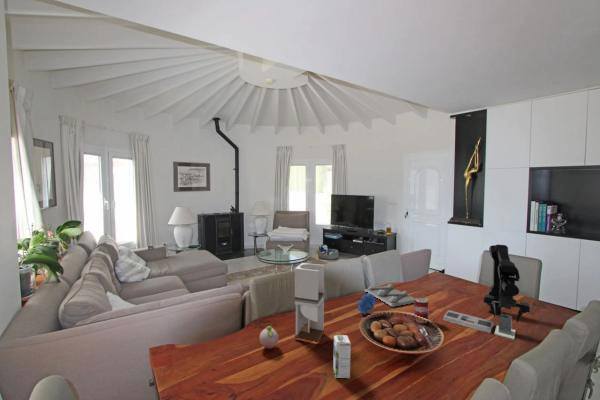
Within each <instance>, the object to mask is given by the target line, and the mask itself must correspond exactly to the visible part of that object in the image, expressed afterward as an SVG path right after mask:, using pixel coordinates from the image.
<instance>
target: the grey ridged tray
mask: <svg viewBox="0 0 600 400" xmlns="http://www.w3.org/2000/svg"><path fill="white" fill-rule="evenodd" d="M363 291H364V292H365V293H366V292H368V293H370V294H372V295H374V296H375V297H376V298H375V299H377V298H378V299H377V300H379V299H380V300H381V301H380V300H379V301H380V302H382V301H383V302H382V303H384V302H385V303H386V304H385V303H384V304H385V305H387V304H388V305H387V306H389V307H391V308H396V306H398V307H402V306H401V305H403V306H407V305H406V304H408V305H412V304H411V303H413V304H414V300H415V299H416V297H413V296H411V295H409V294H408V291H407V290H403V291H400V290H398V289H396V288H395V287H394V284H392V283H388V284H387V285H381V286H377V287H373V286H371V285H370V286H368V288H365V289H364V290H363ZM368 293H367V294H368Z"/></svg>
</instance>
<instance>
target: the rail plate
mask: <svg viewBox="0 0 600 400" xmlns="http://www.w3.org/2000/svg"><path fill="white" fill-rule="evenodd" d="M442 318H443V320H442V321H445V322H448V323H452V324H455V325H459V326H463V327H467V328H469V329H470V328H471V329H474V330H477V331H481V332H485V333H487V334H491V333H492V330H493V328H494V321H492V320H490V319H489V320H488V319H486V318H481V317H478V316H472V315H469V314H466V313H461V312H458V311H453V310H449V309H448V310H447V311H446V313H445V314H444V315H443V317H442Z"/></svg>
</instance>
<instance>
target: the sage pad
mask: <svg viewBox="0 0 600 400" xmlns="http://www.w3.org/2000/svg"><path fill="white" fill-rule="evenodd" d="M493 335H495V336H500V337H501V338H506V339H509V340H513V341H514V340H515V337H516V329H513V328H512V331H511V335H508V334H504V333H500V332H499V324H498V325H496V327H495V331H494V333H493Z"/></svg>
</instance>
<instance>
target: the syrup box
mask: <svg viewBox="0 0 600 400" xmlns="http://www.w3.org/2000/svg"><path fill="white" fill-rule="evenodd" d="M351 345H352V344H351V340H350V339H349V336H348V335H344V334H339V335H333V356H332V357H333V361H332V362H333V363H332V364H333V365H332V370H334V371H333V375H334V374H335V375H334V378H335V379H336V378H347V379H351V350H352V349H351V348H352V347H351Z"/></svg>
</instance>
